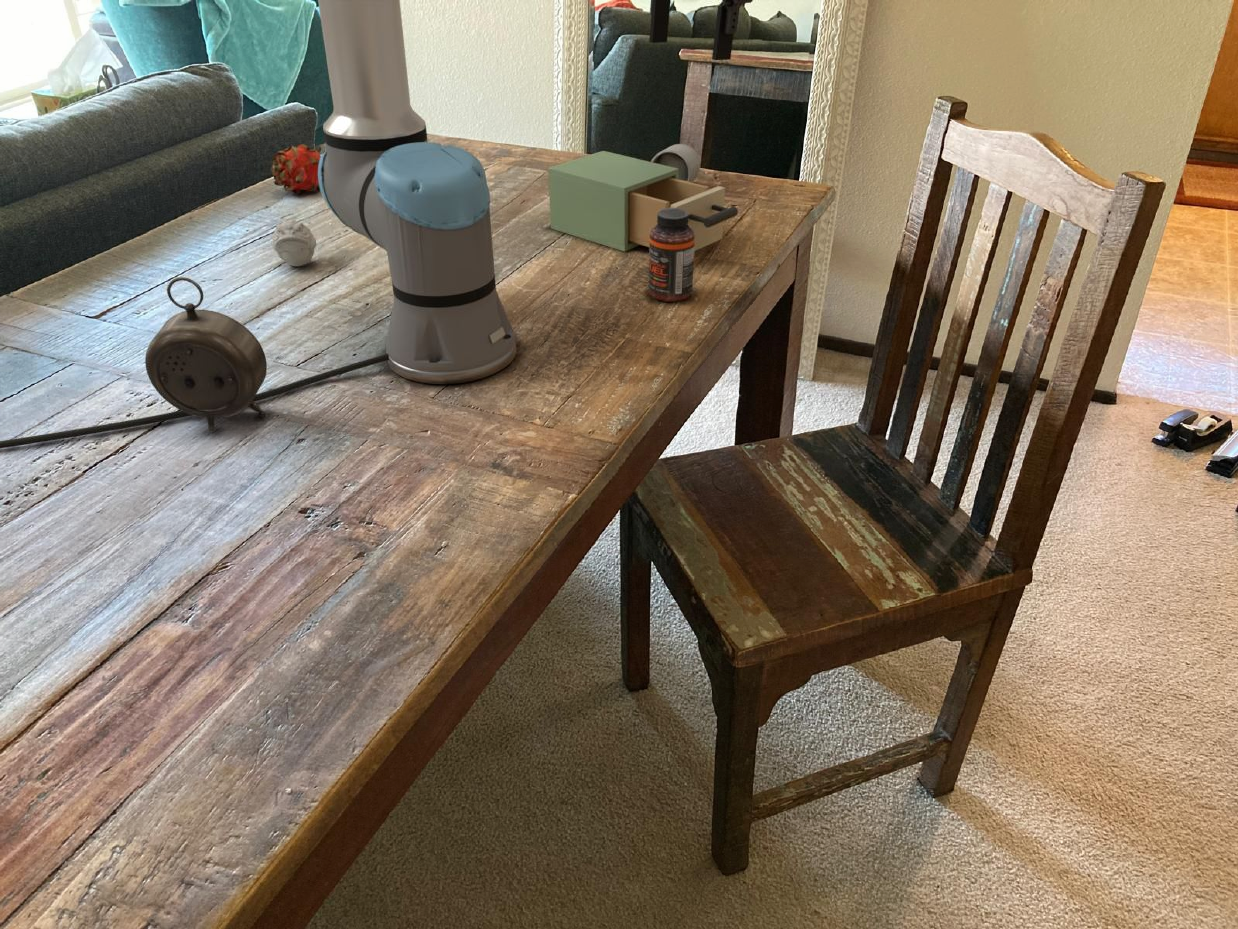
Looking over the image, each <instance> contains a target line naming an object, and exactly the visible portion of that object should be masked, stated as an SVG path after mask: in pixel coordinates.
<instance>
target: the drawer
mask: <svg viewBox="0 0 1238 929" xmlns="http://www.w3.org/2000/svg"><path fill="white" fill-rule="evenodd" d="M725 194H726V187H725V186H724V187H723V186H720V185H717V186H715V187H713V188H709V186H708V185H704V184H699V183H695V182H688V181H684V180H679V179H675V178H671V177H668V178H666V179H663V180H660V181H657V182H655V183H652V184H649V185H646V186H644V187H641V188H638V189H635V190H633V191H630V192H628V241H630V242H633V243H637V244H640V245H639V246H644V247H647V248H649V241H650V232H651V230H652V229H653V228H654V227H655V226H656V225H657V224H658V223H657V215H658V212H659V211H660V210H663V209H667V208H677V209H682V210H685V211H687V212H688V226H689V227H690V228H692V230H693V231H694V234H695V242H694V244H695V245H694V252H696V251H697V250H700V249H703V248H705V247H707V246H709V245H711V244H713V243H716V242H718V241H720V240H723V233H724V232H723V228H724V222H725V221H727V220H730V219H732V218H734V217H736V216H738V214H739V209H738V208H737V207H736V206H731V207H726V206H725V198H726V196H725Z"/></svg>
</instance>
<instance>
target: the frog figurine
mask: <svg viewBox="0 0 1238 929" xmlns="http://www.w3.org/2000/svg"><path fill="white" fill-rule="evenodd" d="M271 238H272V241H271V247H272V249H273V250H274V251H275V253H276V254H277V255H278V257H279V259H281V260H282V262H284V263H285V264H287V265H288V266H291V267H302V266H305V265H307V264H309V262H311V260H312V259H313V256H314V253H315V250H316V246H317V239H316V238H315V236H314V233H312V231H311V229H310V227H308V226H307V225H306V224H304V223H302V222H298V221H297V220H296V219H292V218H290V219H284V220H283V221H282V222H281V223H279V224H276V225H275V229H274V232H273V234H272V237H271Z"/></svg>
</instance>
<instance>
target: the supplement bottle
mask: <svg viewBox="0 0 1238 929" xmlns="http://www.w3.org/2000/svg"><path fill="white" fill-rule="evenodd" d="M657 223H658V224H657V225H656V226H655V227H654V228H653V229H652V230H651V232H650V241H649V247H648V251H649V252H648V257H649V258H648V293H649V295H650V296H651V297H652V298H653V299H656V300H658V301H662V302H666V303H667V302H680V301H684V300H686V299H688V298H690V296H691V295H692V293H693V282H694V263H695V262H694V260H695V251H694V245H695V244H694V242H695V234H694V231H693V230H692V228H690V227H689V226H688V212H687V211H685V210H682V209H677V208H667V209H663V210H660V211H659V212H658V215H657Z"/></svg>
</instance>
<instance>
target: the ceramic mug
mask: <svg viewBox="0 0 1238 929" xmlns="http://www.w3.org/2000/svg"><path fill="white" fill-rule="evenodd" d="M650 162H652V163H657V164H661V165H665V166H669V167H673V168H677V169H679V174H678V179H679V180H684V181H688V182H692V183H694V181H695V180H696V179H697V177H698V176H699V173H700V169H701V160H700V157H699V155H698V153H697V151H696V150H695V149H694V148H693V147H691V146H689V145H687V144H683V143H676V144H673V145H671V146H668V147H667V148H665V149H663V150H661V151H659V152H658V153H656V154H655V156H653V158H651V160H650Z"/></svg>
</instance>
